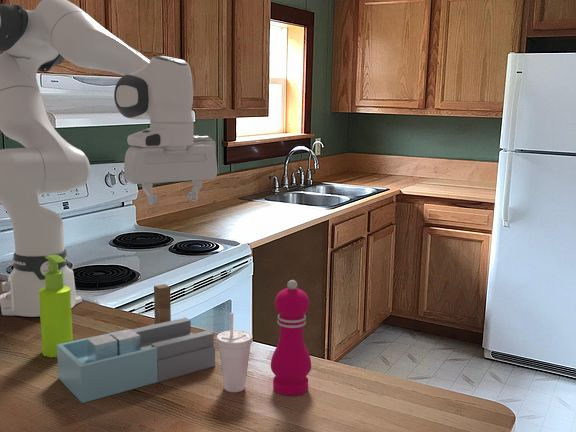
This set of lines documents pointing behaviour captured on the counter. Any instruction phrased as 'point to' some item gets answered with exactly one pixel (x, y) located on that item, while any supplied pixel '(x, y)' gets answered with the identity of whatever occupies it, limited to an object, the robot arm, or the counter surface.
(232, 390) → the smoothie
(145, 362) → the tray
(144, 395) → the counter surface
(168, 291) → the brown bar
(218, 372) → the counter surface
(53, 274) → the soap dispenser
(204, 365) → the groove board
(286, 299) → the pepper mill
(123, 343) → the grey cube
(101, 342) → the light grey cube
